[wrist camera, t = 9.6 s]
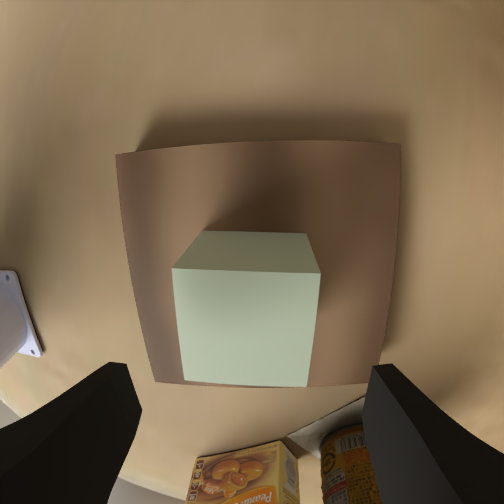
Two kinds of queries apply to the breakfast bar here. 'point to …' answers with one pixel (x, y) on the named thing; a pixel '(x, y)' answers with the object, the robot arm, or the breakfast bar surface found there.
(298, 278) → the sage cube
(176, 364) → the walnut block
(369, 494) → the condiment
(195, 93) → the breakfast bar surface
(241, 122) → the breakfast bar surface
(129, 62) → the breakfast bar surface
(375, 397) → the robot arm
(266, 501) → the candy box
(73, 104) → the breakfast bar surface
